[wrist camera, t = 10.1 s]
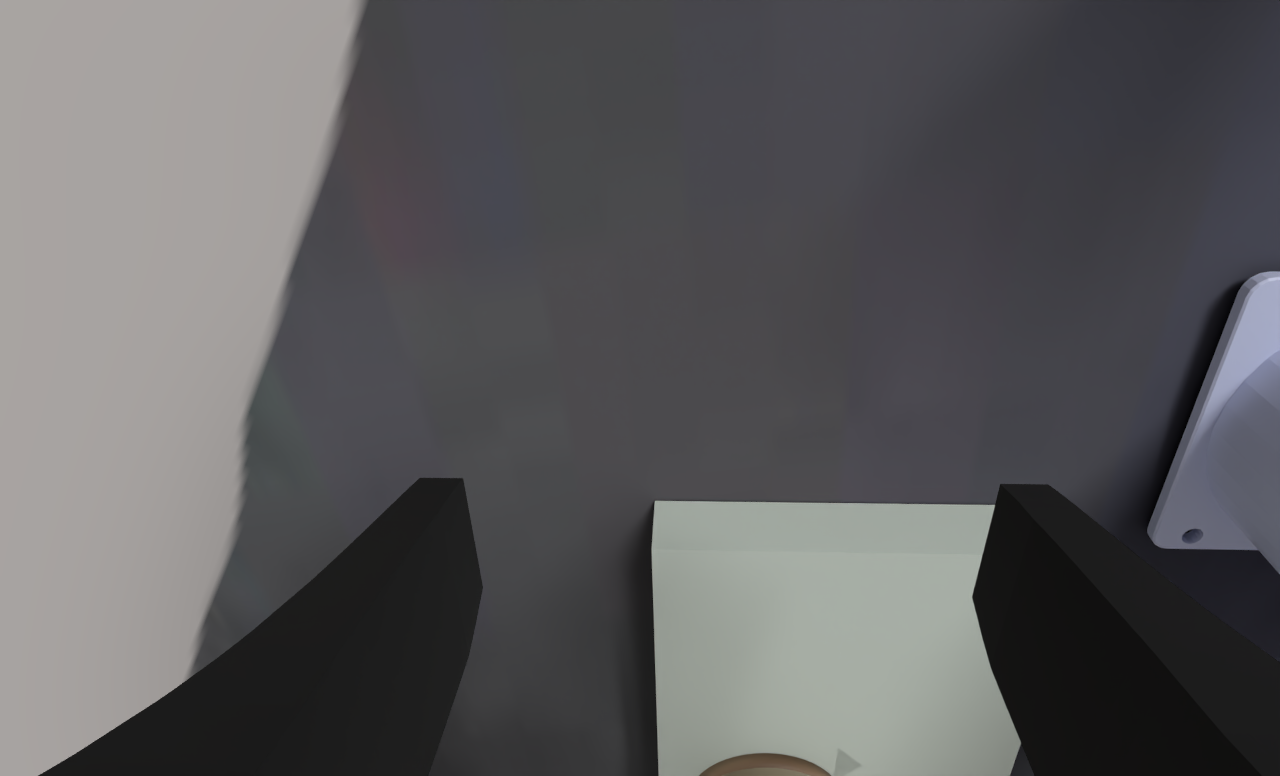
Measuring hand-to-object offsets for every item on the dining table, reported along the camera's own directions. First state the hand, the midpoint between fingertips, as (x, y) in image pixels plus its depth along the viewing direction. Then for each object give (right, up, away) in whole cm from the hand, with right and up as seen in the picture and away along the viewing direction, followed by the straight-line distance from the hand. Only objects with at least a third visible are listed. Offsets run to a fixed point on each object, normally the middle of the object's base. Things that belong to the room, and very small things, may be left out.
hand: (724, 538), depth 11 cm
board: (+5, -9, +16) cm, 19 cm away
